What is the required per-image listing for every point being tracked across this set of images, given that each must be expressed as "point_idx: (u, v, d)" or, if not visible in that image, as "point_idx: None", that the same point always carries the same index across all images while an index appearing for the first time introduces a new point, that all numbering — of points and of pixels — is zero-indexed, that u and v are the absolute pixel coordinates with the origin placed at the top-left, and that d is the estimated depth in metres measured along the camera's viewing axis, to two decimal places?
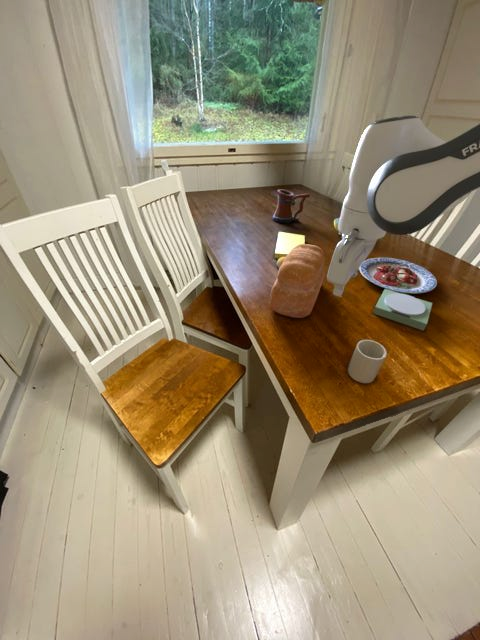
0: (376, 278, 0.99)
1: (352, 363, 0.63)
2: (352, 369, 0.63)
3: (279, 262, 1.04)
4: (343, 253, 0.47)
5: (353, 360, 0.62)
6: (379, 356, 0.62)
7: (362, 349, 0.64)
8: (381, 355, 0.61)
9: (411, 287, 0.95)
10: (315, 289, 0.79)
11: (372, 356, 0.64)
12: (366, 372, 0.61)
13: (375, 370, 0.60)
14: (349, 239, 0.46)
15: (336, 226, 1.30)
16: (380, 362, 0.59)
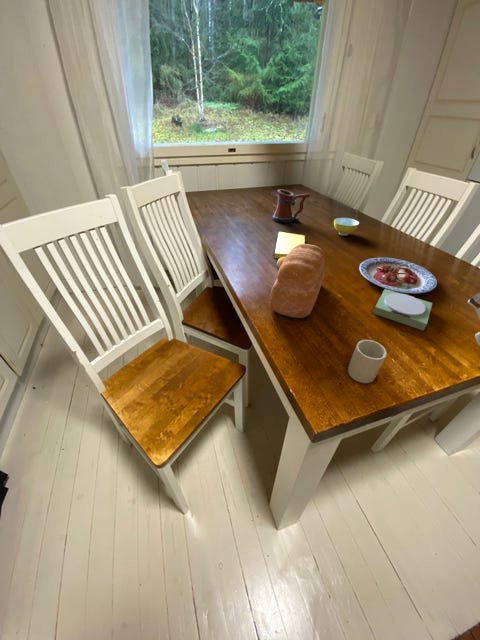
0: (376, 278, 0.99)
1: (352, 363, 0.63)
2: (352, 369, 0.63)
3: (279, 262, 1.04)
4: None
5: (353, 360, 0.62)
6: (379, 356, 0.62)
7: (362, 349, 0.64)
8: (381, 355, 0.61)
9: (411, 287, 0.95)
10: (315, 289, 0.79)
11: (372, 356, 0.64)
12: (366, 372, 0.61)
13: (375, 370, 0.60)
14: None
15: (336, 226, 1.30)
16: (380, 362, 0.59)
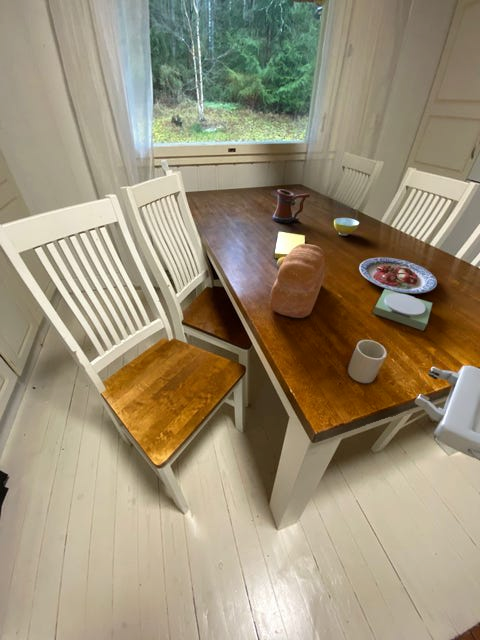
0: (376, 278, 0.99)
1: (352, 363, 0.63)
2: (352, 369, 0.63)
3: (279, 262, 1.04)
4: None
5: (353, 360, 0.62)
6: (379, 356, 0.62)
7: (362, 349, 0.64)
8: (381, 355, 0.61)
9: (411, 287, 0.95)
10: (315, 289, 0.79)
11: (372, 356, 0.64)
12: (366, 372, 0.61)
13: (375, 370, 0.60)
14: None
15: (336, 226, 1.30)
16: (380, 362, 0.59)
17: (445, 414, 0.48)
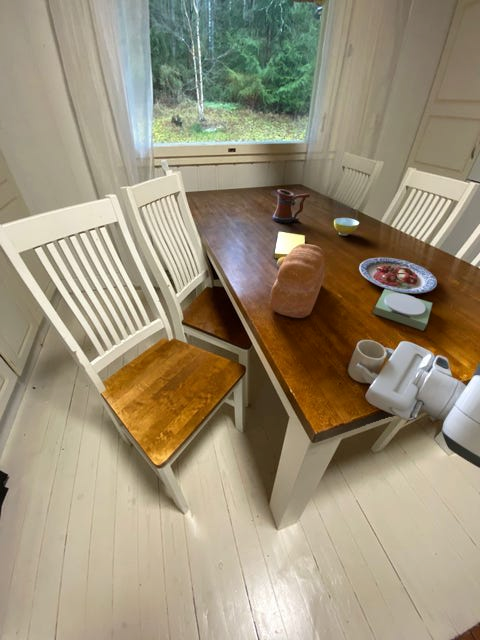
0: (376, 278, 0.99)
1: (352, 363, 0.63)
2: (352, 369, 0.63)
3: (279, 262, 1.04)
4: (399, 417, 0.51)
5: (353, 360, 0.62)
6: (379, 356, 0.62)
7: (362, 349, 0.64)
8: (381, 355, 0.61)
9: (411, 287, 0.95)
10: (315, 289, 0.79)
11: (372, 356, 0.64)
12: None
13: (375, 370, 0.60)
14: (413, 418, 0.51)
15: (336, 226, 1.30)
16: (380, 362, 0.59)
17: (375, 379, 0.56)
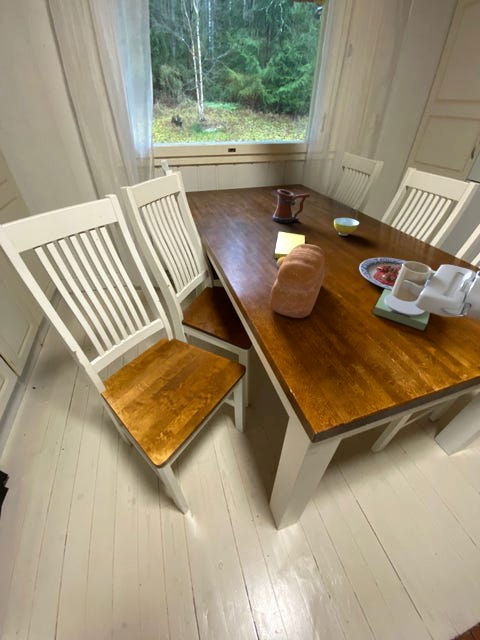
0: (376, 278, 0.99)
1: (397, 283, 0.68)
2: (397, 289, 0.68)
3: (279, 262, 1.04)
4: (450, 314, 0.56)
5: (398, 280, 0.68)
6: None
7: None
8: None
9: None
10: (315, 289, 0.79)
11: None
12: None
13: None
14: (463, 316, 0.56)
15: (336, 226, 1.30)
16: (426, 277, 0.64)
17: (424, 288, 0.61)
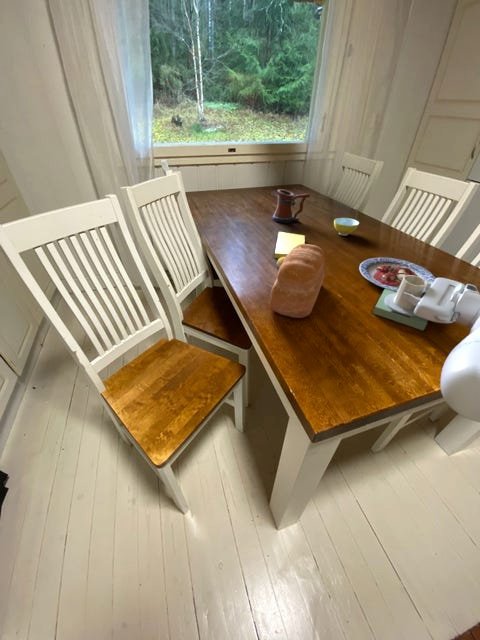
0: (376, 278, 0.99)
1: (398, 293, 0.81)
2: (398, 298, 0.81)
3: (279, 262, 1.04)
4: (442, 321, 0.68)
5: (400, 291, 0.80)
6: None
7: None
8: None
9: None
10: (315, 289, 0.79)
11: None
12: None
13: (418, 296, 0.78)
14: (452, 322, 0.68)
15: (336, 226, 1.30)
16: (423, 289, 0.76)
17: (421, 299, 0.73)
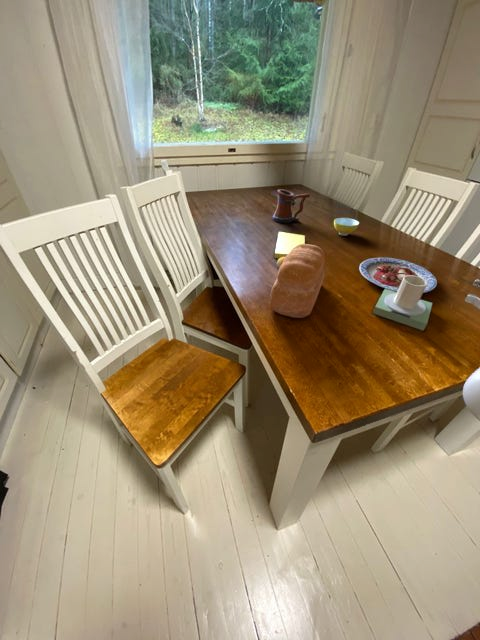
0: (376, 278, 0.99)
1: (398, 293, 0.81)
2: (398, 298, 0.81)
3: (279, 262, 1.04)
4: None
5: (400, 291, 0.80)
6: None
7: None
8: None
9: None
10: (315, 289, 0.79)
11: None
12: (411, 299, 0.78)
13: (418, 296, 0.78)
14: None
15: (336, 226, 1.30)
16: (423, 289, 0.76)
17: None
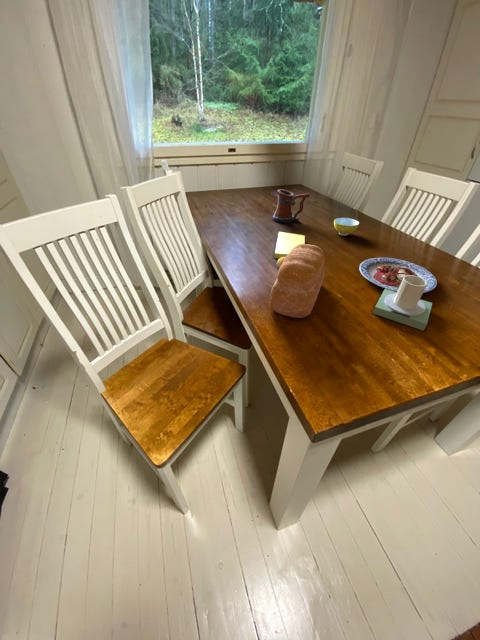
0: (376, 278, 0.99)
1: (398, 293, 0.81)
2: (398, 298, 0.81)
3: (279, 262, 1.04)
4: None
5: (400, 291, 0.80)
6: None
7: None
8: None
9: None
10: (315, 289, 0.79)
11: None
12: (411, 299, 0.78)
13: (418, 296, 0.78)
14: None
15: (336, 226, 1.30)
16: (423, 289, 0.76)
17: None
